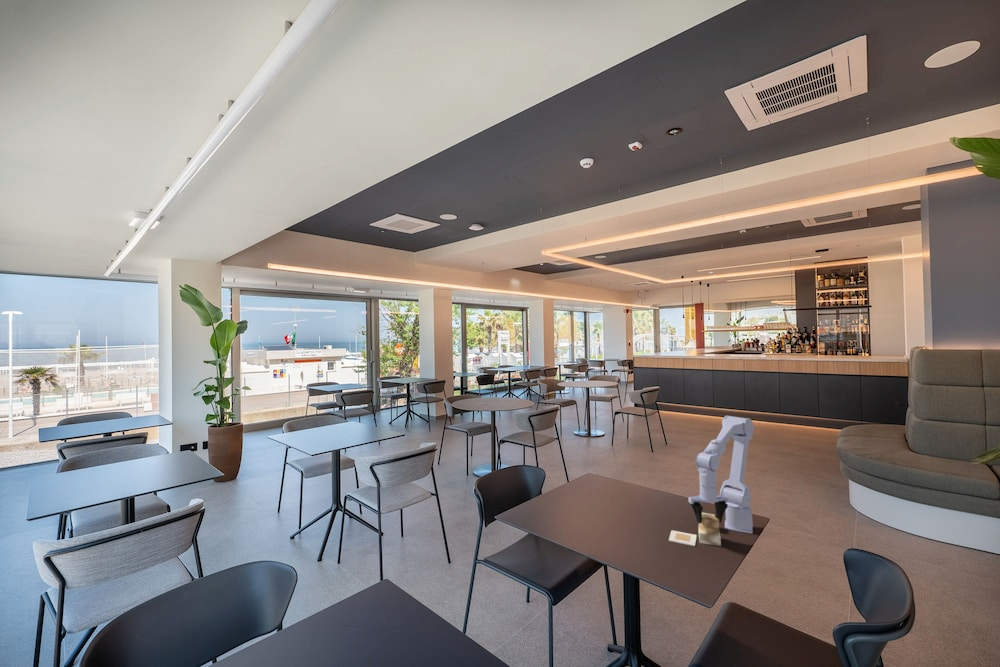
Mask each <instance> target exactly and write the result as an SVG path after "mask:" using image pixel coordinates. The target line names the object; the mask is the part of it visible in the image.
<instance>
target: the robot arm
mask: <svg viewBox="0 0 1000 667" xmlns="http://www.w3.org/2000/svg"><path fill="white" fill-rule="evenodd" d="M721 427H722V428H721V430H720V432H719V434H718V435H717V437H716V438H715V439H712V440H710V442H709V443H708V444H707V446H706V447H705V449H704V451H703V452H702V451H701V452H699V453H697V455H696V457H695V466H696V467H697V471H698V477H699V494H698V495H694V496H688V503H689V504H690V505H691V508H692V510H693V512H694V514H695V518H696V521H697V523H698V524H699V523H702V512H703V508H704V507H703V506H702V505H701V504H704V503H705V504H706V503H707V504H708V503H709V504H710V503H714V508H715V509H714V510H715V517H716V518H717V519H719V523H722V521H723V517H724V514H725V520H724V529H725V530H730V531H736V532H740V533H746V534H753V532H754V530H753V528H754V521H753V511H752V509H753V508H752V506H750V505H751V501H752V495H751V488H750V486H748V485H747V483H746V482H745V474H746V468H747V467H746V465H747V457H748V452H749V451H748V450H749V442H750V441H751V440H753V437H754V431H755V430H754V428H755V426H754V423H753V421H752V419H751V418H749V417H747V418H746V417H739V416H733V415H732V416H731V415H729V414H728V415H725V416H724V417H723V418H722V420H721ZM731 439H733V448H732V457H731V464H730V471H729V478H728V479H726V480H724V481H723V482H722V484H721V488H720V490H719V494H717V492H718V490H717V470H718V469H719V467H720V463H721V458H722V457H723V454H724V453H726V452H725V451H727V447H726V444H727V443H728V442H729V441H730V440H731Z"/></svg>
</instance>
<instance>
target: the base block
mask: <svg viewBox="0 0 1000 667" xmlns="http://www.w3.org/2000/svg"><path fill="white" fill-rule="evenodd" d="M697 528H698V530H697V531H698V540H699V541H698V542H699V543H700V544H704V545H710V546H717V547H721V546H722V541H721V540H722V538H721V532H720V531H719V533H713V534H706V533H705V532H703V531H702V530H701V529H700V528H699V524H698V526H697Z"/></svg>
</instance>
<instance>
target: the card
mask: <svg viewBox="0 0 1000 667" xmlns="http://www.w3.org/2000/svg"><path fill="white" fill-rule="evenodd" d="M668 542H673V543H676V544H681V545H687V546H692V547H696V542H697V534H693V533H690V532H689V533H687V532H683V531H678V530H671V531H670V534H669V538H668Z"/></svg>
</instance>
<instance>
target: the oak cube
mask: <svg viewBox="0 0 1000 667" xmlns="http://www.w3.org/2000/svg"><path fill="white" fill-rule="evenodd" d="M712 514H713V513H709V514H702V523H699V522H698V525H699V528H700V529H701V530H702V531H703V532H705V533H706V534H713V533H719V532H720V522H719V519H717V518H716V515H715V516H713V515H712Z"/></svg>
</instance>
